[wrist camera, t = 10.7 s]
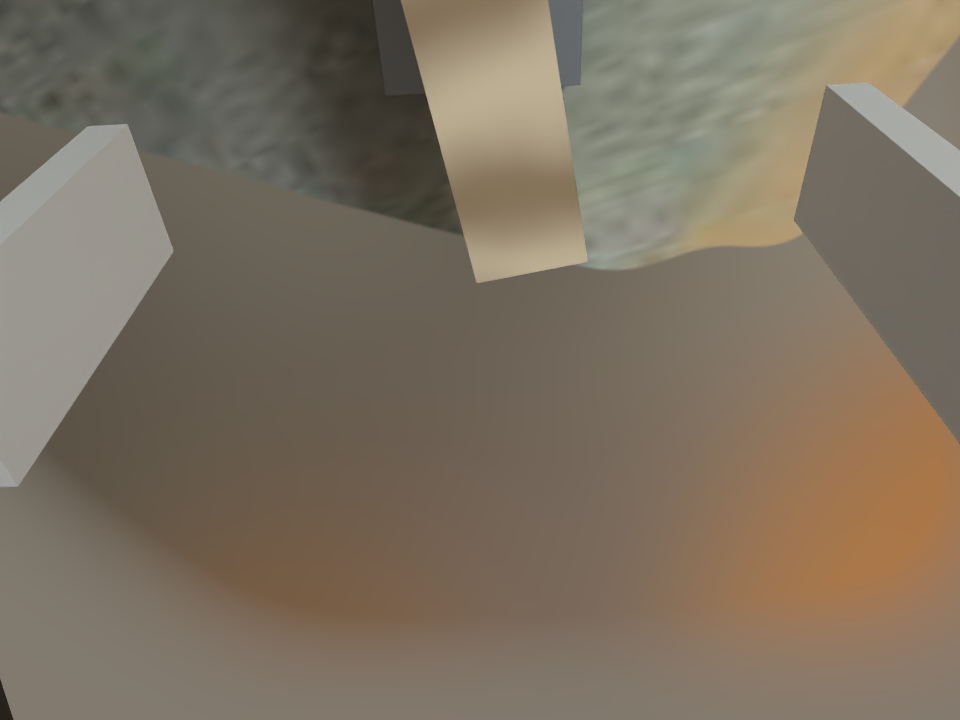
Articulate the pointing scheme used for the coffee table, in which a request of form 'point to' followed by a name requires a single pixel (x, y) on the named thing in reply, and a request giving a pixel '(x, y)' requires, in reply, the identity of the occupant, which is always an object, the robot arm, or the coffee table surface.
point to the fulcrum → (402, 61)
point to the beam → (501, 130)
